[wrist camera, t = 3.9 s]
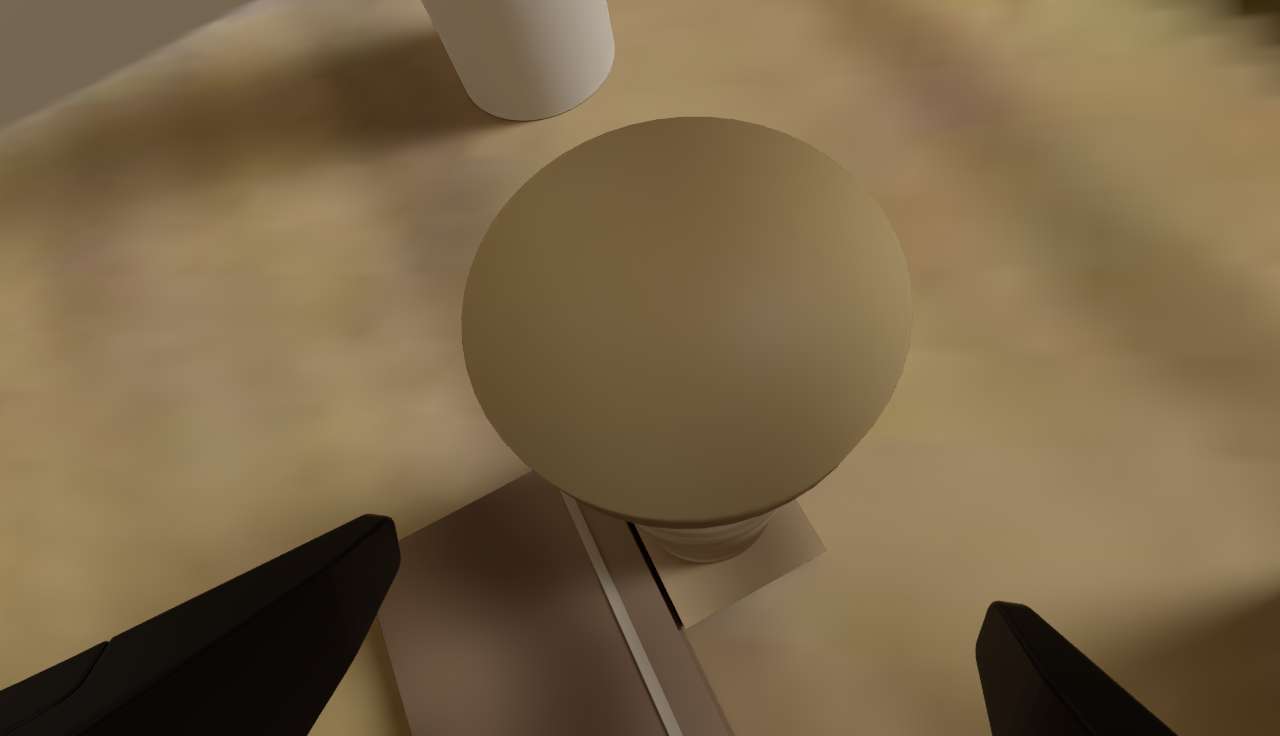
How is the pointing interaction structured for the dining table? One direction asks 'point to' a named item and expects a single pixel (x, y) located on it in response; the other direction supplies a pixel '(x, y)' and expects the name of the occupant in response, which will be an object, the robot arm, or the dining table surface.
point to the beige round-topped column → (690, 339)
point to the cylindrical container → (526, 52)
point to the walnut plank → (539, 626)
